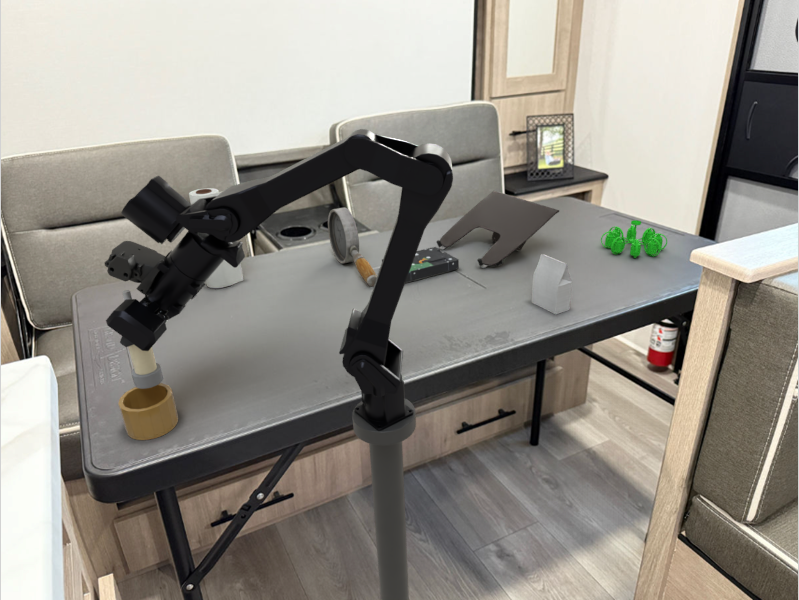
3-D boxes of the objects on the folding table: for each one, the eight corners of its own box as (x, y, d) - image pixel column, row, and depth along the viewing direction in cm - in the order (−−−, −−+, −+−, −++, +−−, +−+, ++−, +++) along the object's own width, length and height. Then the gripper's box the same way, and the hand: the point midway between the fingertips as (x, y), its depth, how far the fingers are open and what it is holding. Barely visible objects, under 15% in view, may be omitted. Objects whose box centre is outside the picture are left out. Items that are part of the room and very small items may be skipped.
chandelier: (661, 240, 151) (665, 213, 148) (670, 262, 138) (675, 233, 135) (598, 237, 154) (601, 211, 151) (601, 258, 141) (604, 230, 138)
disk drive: (434, 257, 146) (381, 269, 140) (434, 246, 145) (380, 258, 139) (459, 270, 138) (403, 284, 132) (459, 259, 137) (403, 272, 131)
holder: (185, 426, 88) (178, 397, 86) (134, 447, 84) (126, 417, 82) (168, 404, 94) (162, 377, 91) (120, 423, 90) (112, 395, 88)
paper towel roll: (200, 286, 135) (182, 193, 126) (218, 276, 140) (202, 186, 131) (226, 291, 132) (209, 196, 123) (243, 281, 137) (228, 188, 128)
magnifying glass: (382, 256, 127) (340, 197, 144) (368, 259, 126) (327, 199, 143) (378, 303, 135) (338, 242, 152) (365, 306, 134) (327, 244, 151)
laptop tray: (441, 264, 157) (427, 238, 152) (501, 211, 163) (491, 183, 157) (501, 293, 139) (488, 265, 134) (566, 232, 145) (557, 202, 140)
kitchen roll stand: (167, 373, 90) (146, 284, 84) (157, 388, 86) (134, 297, 80) (140, 374, 90) (117, 285, 84) (129, 389, 86) (104, 298, 80)
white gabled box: (555, 314, 116) (559, 266, 112) (531, 302, 122) (534, 256, 117) (569, 309, 118) (573, 262, 114) (545, 297, 123) (548, 251, 119)
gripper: (167, 203, 86) (112, 276, 91) (102, 250, 69) (38, 335, 75) (230, 254, 89) (173, 321, 94) (182, 310, 72) (115, 388, 77)
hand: (128, 338), depth 85 cm, fingers closed on kitchen roll stand, 3 cm apart
